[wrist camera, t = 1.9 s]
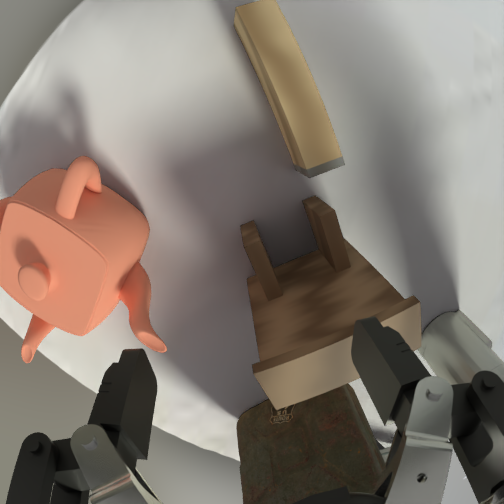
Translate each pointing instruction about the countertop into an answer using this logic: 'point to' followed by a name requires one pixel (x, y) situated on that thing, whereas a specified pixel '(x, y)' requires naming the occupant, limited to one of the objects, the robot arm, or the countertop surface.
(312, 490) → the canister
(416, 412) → the robot arm
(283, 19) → the rail
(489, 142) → the countertop surface
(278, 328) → the slotted wooden stand
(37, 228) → the pot
